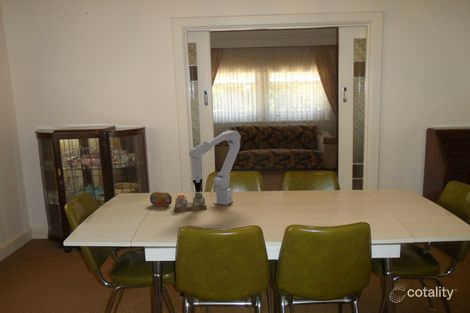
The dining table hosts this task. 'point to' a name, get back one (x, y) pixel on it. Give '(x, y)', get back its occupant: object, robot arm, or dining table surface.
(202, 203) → the press board
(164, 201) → the tin
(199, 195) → the grey cube
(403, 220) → the dining table surface
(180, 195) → the terracotta plunger
